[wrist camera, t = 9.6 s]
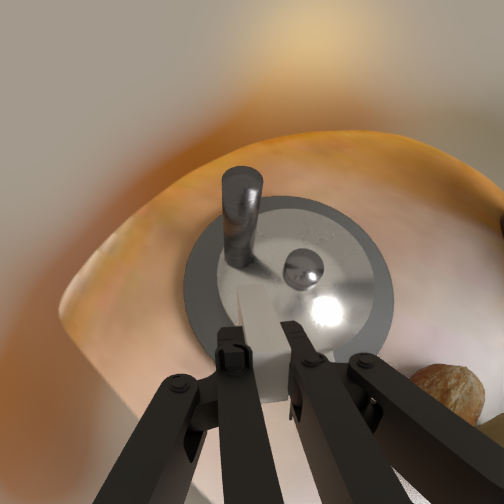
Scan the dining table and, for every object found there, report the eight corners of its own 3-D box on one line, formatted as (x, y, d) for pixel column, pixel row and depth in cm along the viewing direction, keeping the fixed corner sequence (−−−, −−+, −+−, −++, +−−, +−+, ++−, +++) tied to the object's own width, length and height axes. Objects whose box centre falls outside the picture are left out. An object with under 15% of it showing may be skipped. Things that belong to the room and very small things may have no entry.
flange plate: (342, 211, 28) (378, 138, 19) (392, 358, 20) (472, 323, 12) (210, 222, 26) (203, 136, 17) (233, 396, 18) (234, 398, 10)
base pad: (265, 176, 32) (268, 150, 28) (410, 265, 27) (429, 247, 23) (141, 303, 23) (127, 286, 19) (328, 435, 18) (346, 441, 15)
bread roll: (443, 385, 23) (483, 343, 19) (458, 458, 15) (512, 424, 10) (378, 388, 23) (419, 342, 19) (387, 476, 15) (445, 450, 10)
